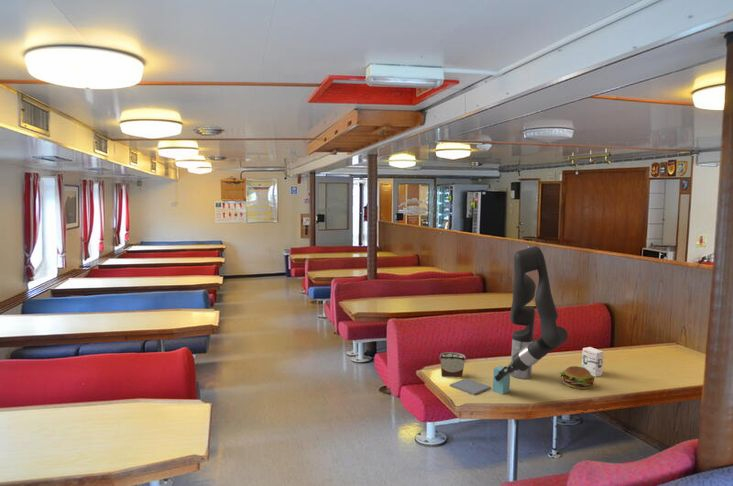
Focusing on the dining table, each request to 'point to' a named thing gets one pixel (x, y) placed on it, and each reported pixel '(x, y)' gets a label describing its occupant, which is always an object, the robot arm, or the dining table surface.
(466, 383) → the grey mat
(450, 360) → the food container
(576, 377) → the food
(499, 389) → the teal block
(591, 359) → the ink box
